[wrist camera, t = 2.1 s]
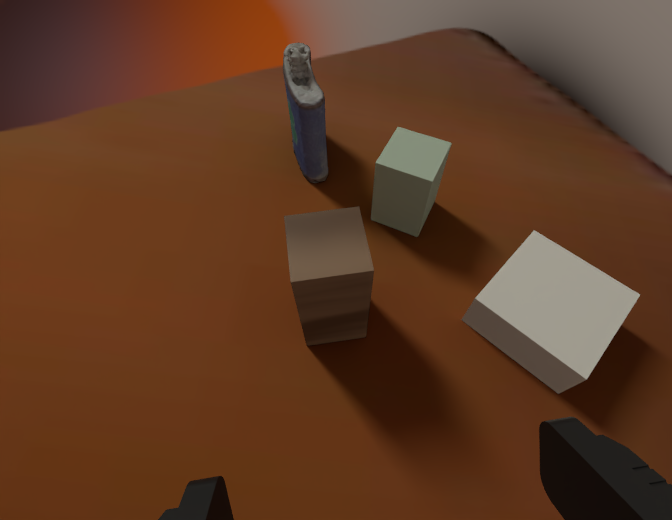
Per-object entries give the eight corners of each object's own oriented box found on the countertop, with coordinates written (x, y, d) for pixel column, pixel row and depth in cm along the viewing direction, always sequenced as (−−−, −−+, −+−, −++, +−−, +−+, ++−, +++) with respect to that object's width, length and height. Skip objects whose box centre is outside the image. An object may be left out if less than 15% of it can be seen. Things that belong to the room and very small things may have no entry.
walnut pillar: (365, 337, 29) (373, 270, 21) (306, 346, 29) (290, 282, 21) (355, 285, 32) (359, 206, 23) (300, 293, 31) (284, 216, 23)
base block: (556, 394, 27) (586, 379, 24) (460, 321, 30) (475, 298, 27) (606, 318, 30) (640, 294, 27) (514, 258, 33) (534, 230, 30)
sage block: (417, 237, 34) (432, 181, 28) (370, 219, 35) (375, 162, 29) (434, 201, 36) (451, 142, 30) (389, 186, 37) (397, 126, 31)
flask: (331, 181, 38) (326, 80, 29) (301, 187, 38) (287, 86, 29) (314, 121, 43) (305, 18, 34) (288, 125, 42) (271, 22, 33)
